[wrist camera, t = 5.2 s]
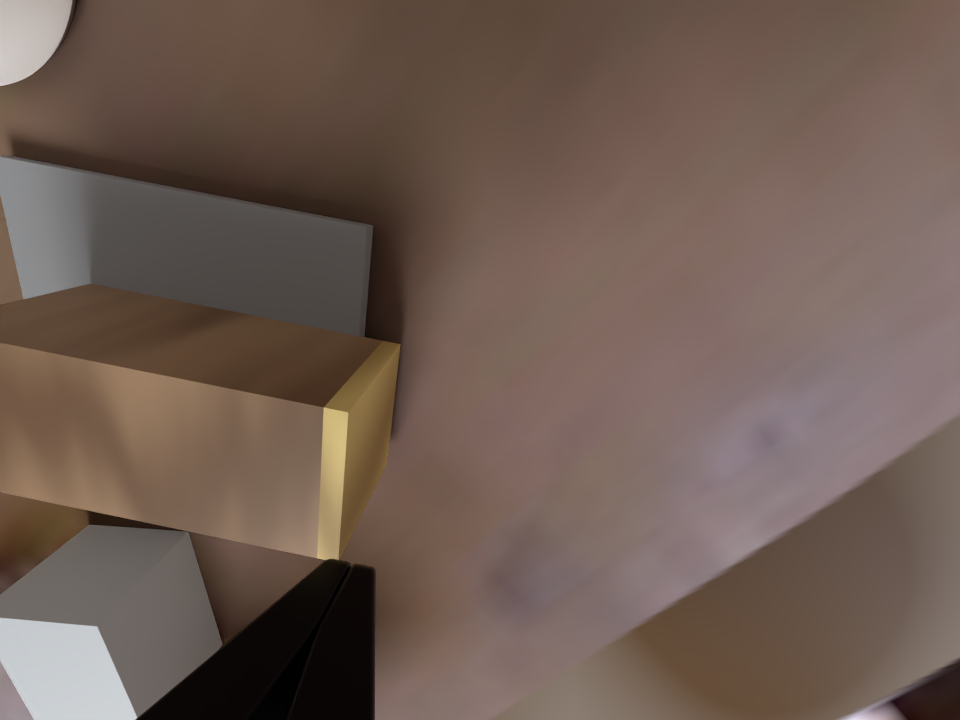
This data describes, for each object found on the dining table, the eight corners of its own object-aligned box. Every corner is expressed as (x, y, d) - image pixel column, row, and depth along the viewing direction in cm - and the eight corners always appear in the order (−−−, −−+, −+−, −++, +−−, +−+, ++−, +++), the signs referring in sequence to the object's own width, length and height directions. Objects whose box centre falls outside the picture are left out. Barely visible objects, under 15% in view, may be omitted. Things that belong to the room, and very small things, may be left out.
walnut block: (338, 562, 10) (-35, 484, 11) (387, 462, 14) (110, 406, 14) (348, 412, 9) (-87, 325, 9) (400, 344, 13) (90, 283, 13)
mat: (350, 518, 16) (344, 528, 15) (74, 461, 16) (61, 470, 16) (373, 225, 12) (367, 227, 12) (12, 156, 12) (-8, 155, 12)
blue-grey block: (190, 528, 17) (224, 641, 19) (92, 522, 17) (136, 633, 19) (97, 626, 13) (152, 751, 15) (-26, 615, 14) (45, 739, 16)
